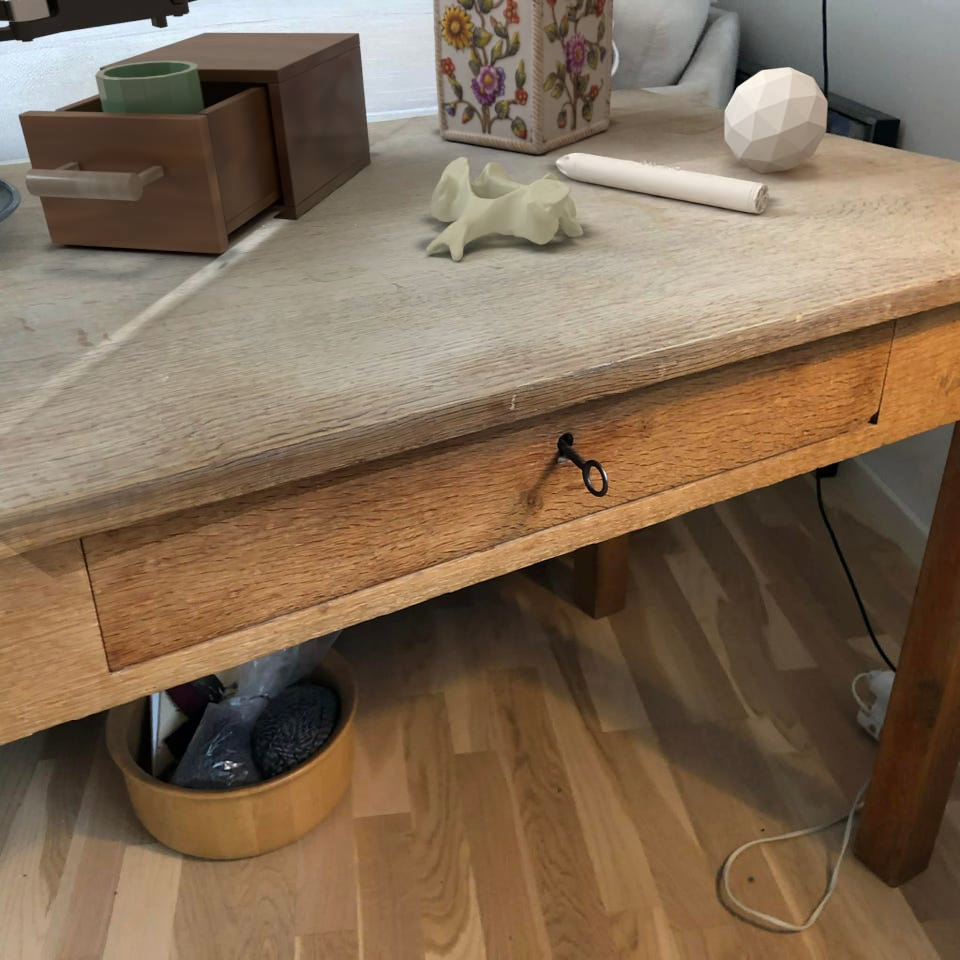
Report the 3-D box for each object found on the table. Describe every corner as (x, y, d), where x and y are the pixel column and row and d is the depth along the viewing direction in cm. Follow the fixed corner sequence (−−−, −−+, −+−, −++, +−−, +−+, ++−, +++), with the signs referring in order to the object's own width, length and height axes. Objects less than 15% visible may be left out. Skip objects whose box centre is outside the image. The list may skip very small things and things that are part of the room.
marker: (547, 178, 81) (547, 148, 80) (563, 172, 82) (563, 143, 81) (753, 217, 71) (757, 184, 70) (767, 210, 72) (771, 177, 71)
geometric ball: (766, 211, 81) (747, 142, 74) (718, 153, 85) (696, 84, 79) (853, 157, 80) (841, 82, 73) (799, 102, 84) (783, 26, 78)
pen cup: (107, 218, 69) (75, 78, 64) (156, 191, 74) (130, 60, 70) (192, 223, 68) (166, 80, 63) (236, 194, 73) (215, 60, 68)
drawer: (187, 278, 62) (160, 136, 57) (10, 266, 65) (-29, 130, 60) (310, 189, 77) (295, 72, 73) (162, 183, 80) (139, 70, 76)
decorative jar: (538, 157, 87) (537, -83, 77) (435, 140, 93) (422, -84, 84) (614, 129, 94) (621, -93, 85) (514, 115, 101) (510, -93, 91)
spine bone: (381, 264, 71) (366, 200, 67) (471, 199, 76) (462, 137, 72) (517, 310, 64) (508, 241, 61) (606, 235, 69) (602, 169, 66)
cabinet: (297, 219, 74) (277, 69, 69) (130, 210, 78) (98, 67, 72) (371, 162, 87) (359, 32, 82) (225, 157, 91) (204, 32, 85)
